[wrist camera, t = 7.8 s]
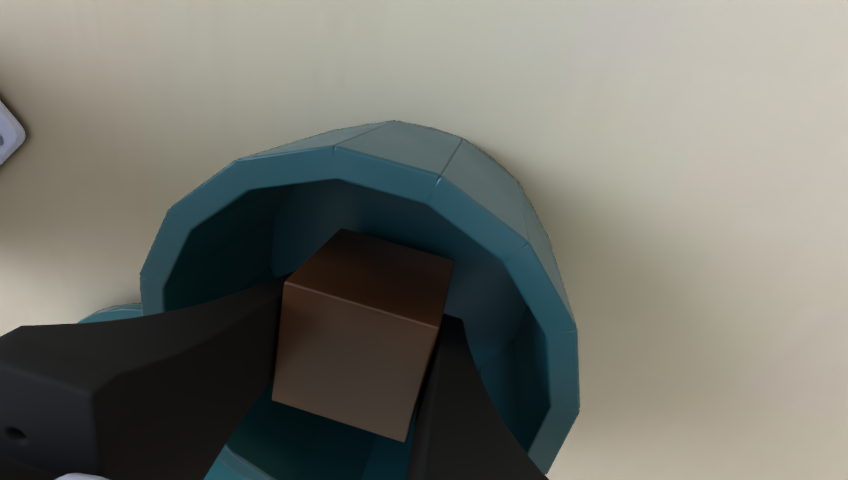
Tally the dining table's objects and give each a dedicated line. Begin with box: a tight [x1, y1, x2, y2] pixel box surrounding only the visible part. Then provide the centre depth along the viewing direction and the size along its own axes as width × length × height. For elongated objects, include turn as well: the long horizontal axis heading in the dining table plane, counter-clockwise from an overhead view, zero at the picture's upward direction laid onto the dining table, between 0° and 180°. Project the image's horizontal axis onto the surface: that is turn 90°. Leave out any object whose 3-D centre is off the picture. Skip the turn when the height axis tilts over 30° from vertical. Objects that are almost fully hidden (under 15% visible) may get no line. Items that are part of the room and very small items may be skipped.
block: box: [272, 228, 455, 442], centre depth 12 cm, size 4×4×4 cm
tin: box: [140, 120, 580, 480], centre depth 13 cm, size 11×11×6 cm
